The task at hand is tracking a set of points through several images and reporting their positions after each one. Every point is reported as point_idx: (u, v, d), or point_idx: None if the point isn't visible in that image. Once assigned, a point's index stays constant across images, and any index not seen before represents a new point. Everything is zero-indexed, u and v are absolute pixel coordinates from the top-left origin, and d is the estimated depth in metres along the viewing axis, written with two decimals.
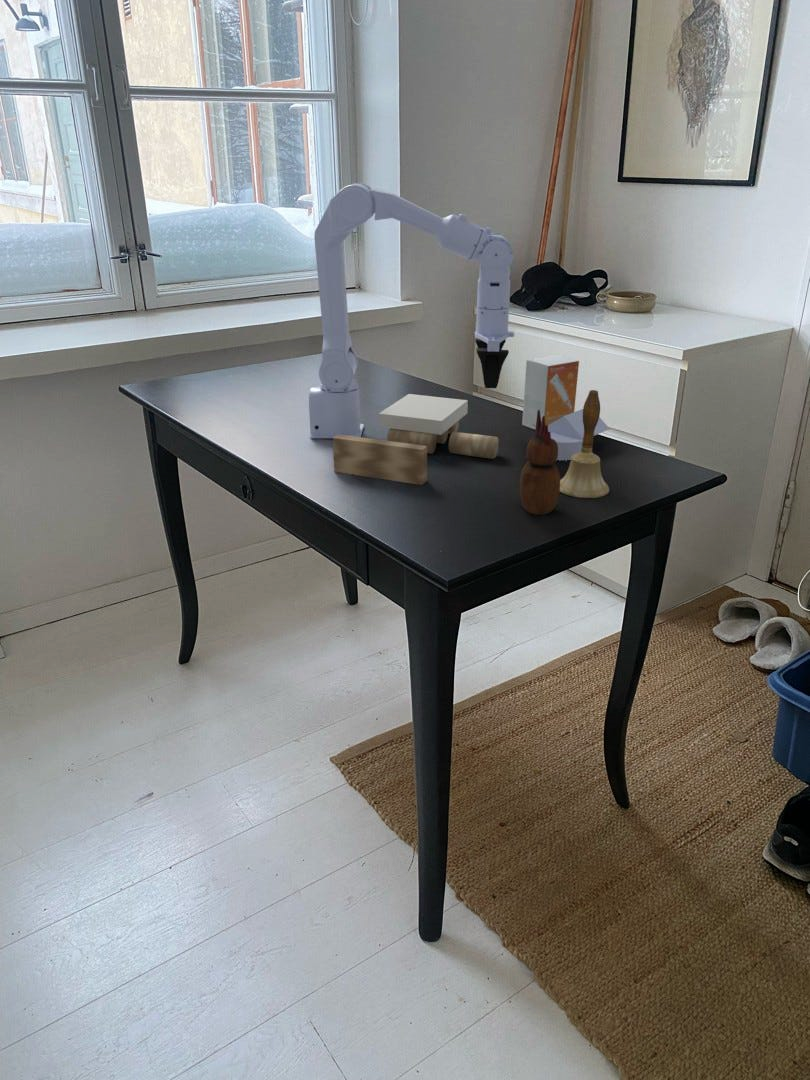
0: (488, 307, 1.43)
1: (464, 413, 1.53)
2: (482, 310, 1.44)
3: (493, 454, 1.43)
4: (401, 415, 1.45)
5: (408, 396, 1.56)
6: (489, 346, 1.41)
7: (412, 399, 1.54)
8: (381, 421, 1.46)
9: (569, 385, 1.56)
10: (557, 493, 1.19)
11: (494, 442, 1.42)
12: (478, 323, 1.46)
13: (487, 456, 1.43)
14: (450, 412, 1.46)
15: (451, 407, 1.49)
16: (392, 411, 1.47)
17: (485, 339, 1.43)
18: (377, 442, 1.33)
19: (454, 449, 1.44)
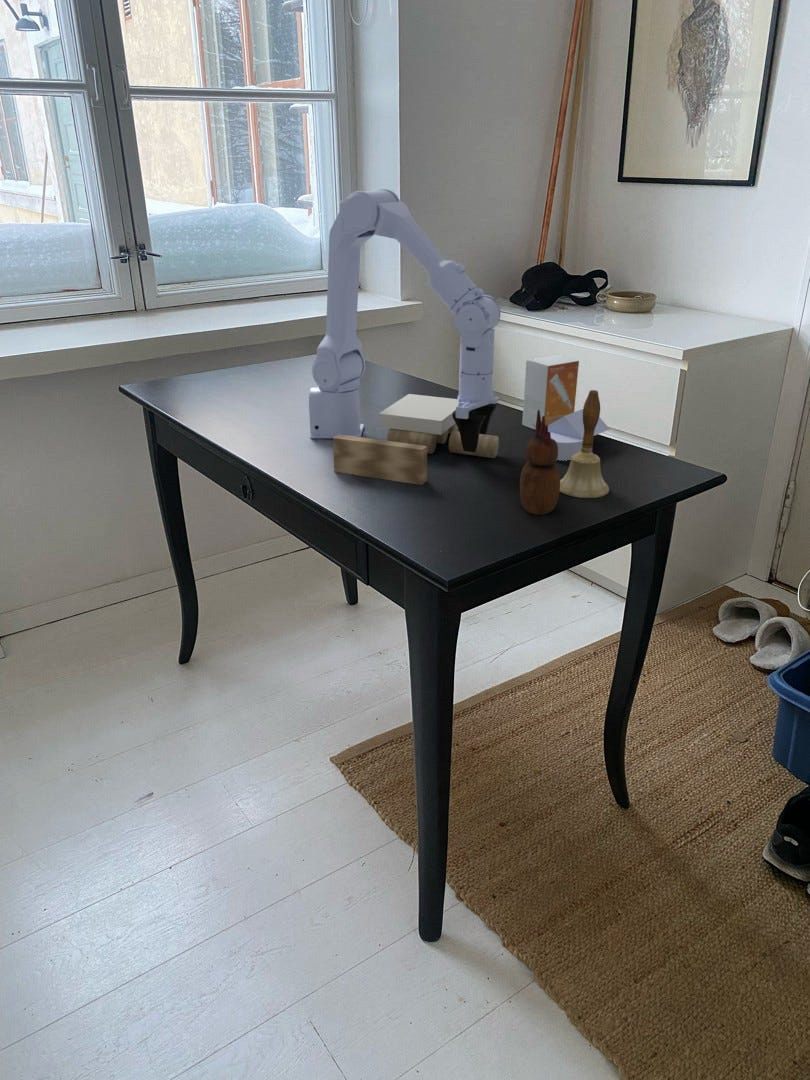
0: (464, 371, 1.37)
1: None
2: (461, 374, 1.38)
3: (493, 453, 1.42)
4: (401, 415, 1.45)
5: (408, 396, 1.56)
6: (457, 413, 1.35)
7: (412, 399, 1.54)
8: (381, 421, 1.46)
9: (569, 385, 1.56)
10: (557, 493, 1.19)
11: (494, 441, 1.42)
12: (459, 387, 1.40)
13: (487, 455, 1.43)
14: (450, 412, 1.46)
15: (451, 407, 1.49)
16: (392, 411, 1.47)
17: None
18: (377, 442, 1.33)
19: (454, 448, 1.44)
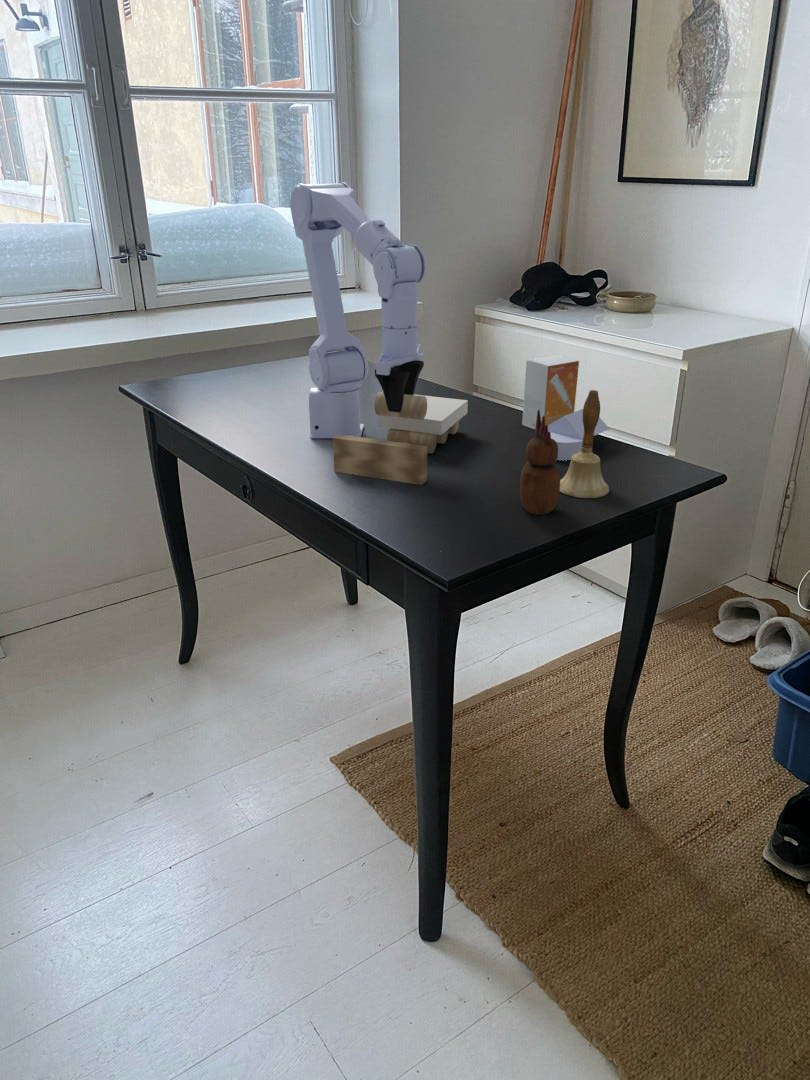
0: (382, 324, 1.31)
1: (464, 413, 1.53)
2: (383, 328, 1.30)
3: (420, 415, 1.35)
4: None
5: None
6: (377, 369, 1.28)
7: None
8: (381, 421, 1.46)
9: (569, 385, 1.56)
10: (557, 493, 1.19)
11: (421, 402, 1.35)
12: (382, 343, 1.33)
13: (414, 416, 1.35)
14: (450, 412, 1.46)
15: (451, 407, 1.49)
16: None
17: (379, 360, 1.30)
18: (377, 442, 1.33)
19: (380, 410, 1.37)
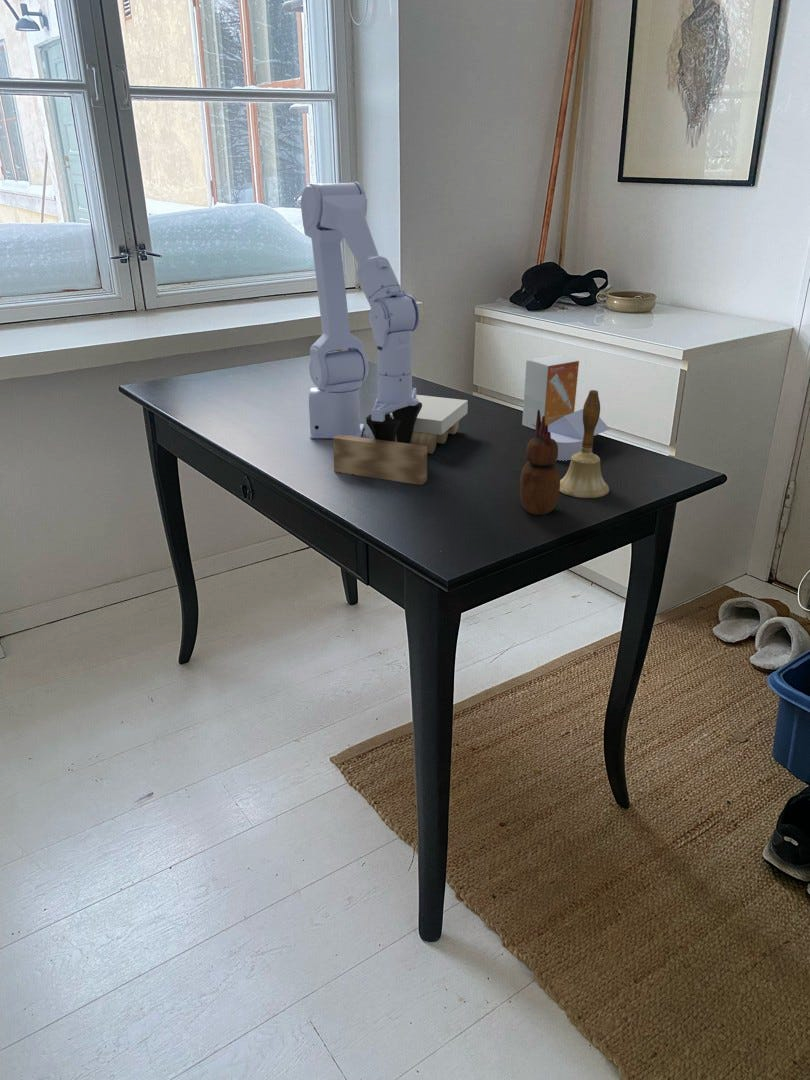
0: (377, 370, 1.34)
1: (464, 413, 1.53)
2: (378, 375, 1.33)
3: None
4: None
5: None
6: (372, 415, 1.31)
7: None
8: None
9: (569, 385, 1.56)
10: (557, 493, 1.19)
11: None
12: None
13: None
14: (450, 412, 1.46)
15: (451, 407, 1.49)
16: None
17: (374, 407, 1.33)
18: (377, 442, 1.33)
19: None
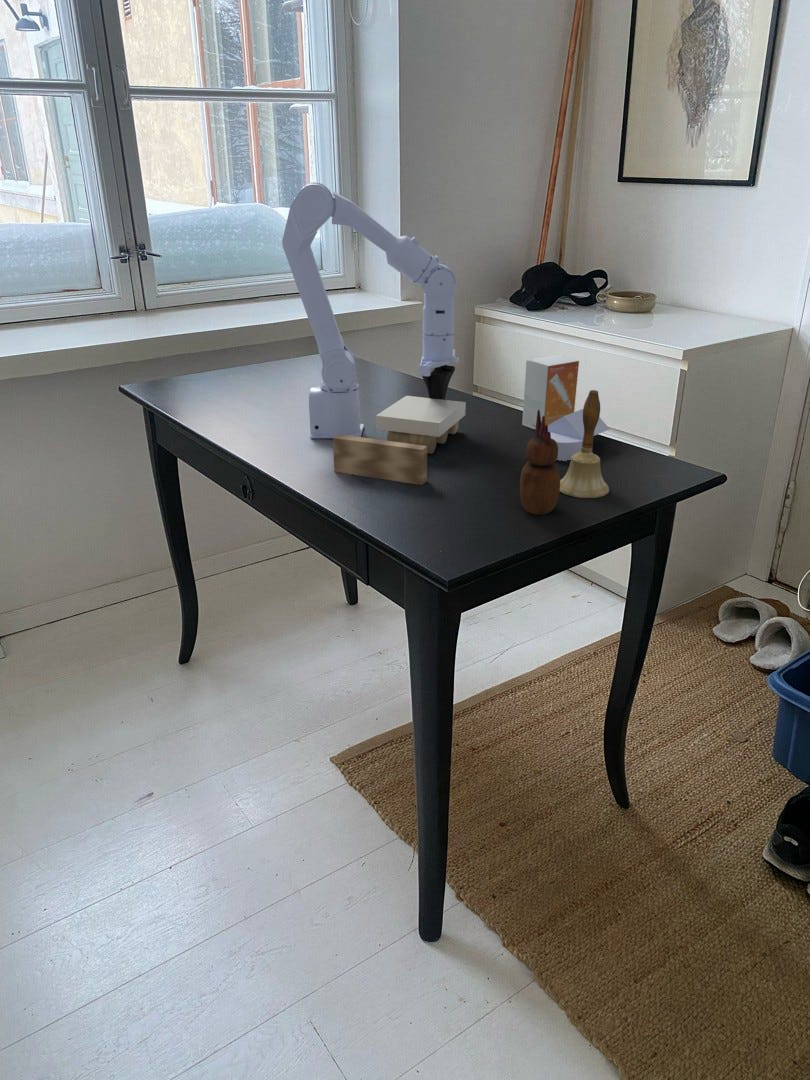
0: (434, 334, 1.48)
1: (462, 415, 1.52)
2: (424, 335, 1.49)
3: None
4: (398, 417, 1.44)
5: (405, 398, 1.55)
6: (420, 370, 1.47)
7: (409, 401, 1.53)
8: (378, 423, 1.45)
9: (569, 385, 1.56)
10: (557, 493, 1.19)
11: None
12: None
13: None
14: (448, 414, 1.45)
15: (448, 408, 1.48)
16: (389, 413, 1.46)
17: None
18: (377, 442, 1.33)
19: None
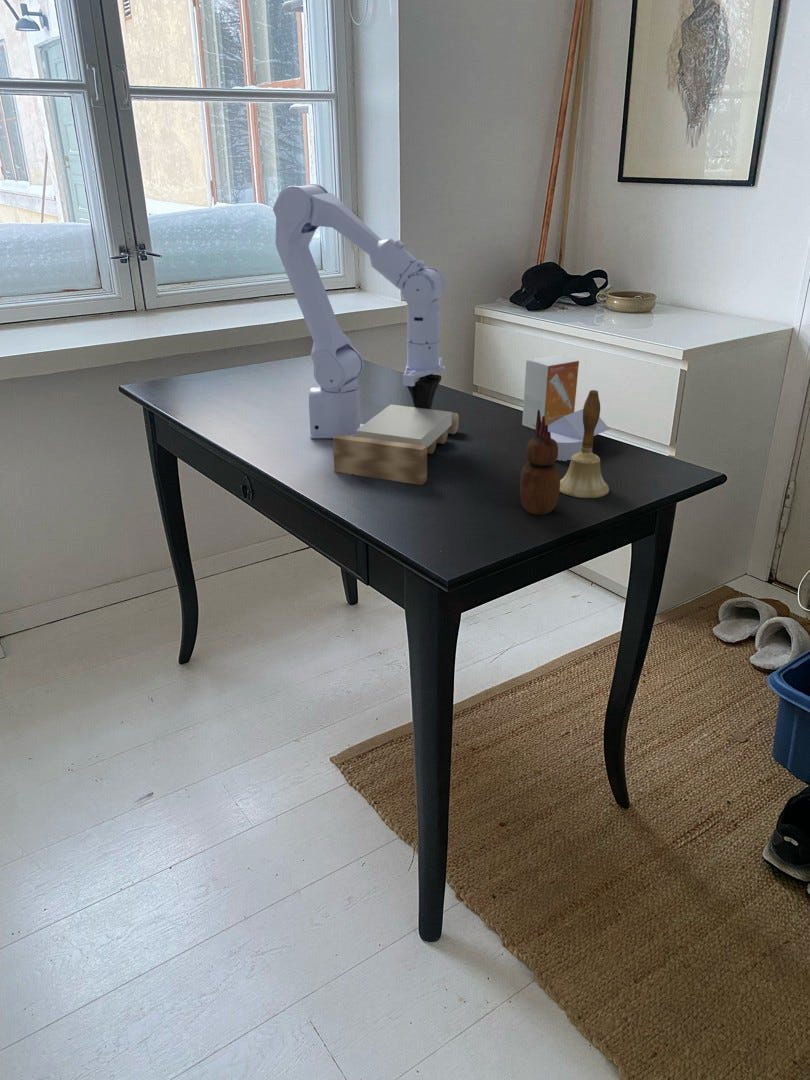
0: (413, 341, 1.42)
1: (448, 426, 1.45)
2: (408, 343, 1.43)
3: None
4: (379, 432, 1.38)
5: (389, 407, 1.49)
6: (403, 380, 1.40)
7: (393, 412, 1.47)
8: None
9: (569, 385, 1.56)
10: (557, 493, 1.19)
11: None
12: (407, 356, 1.45)
13: None
14: (431, 428, 1.39)
15: (433, 421, 1.42)
16: (370, 428, 1.40)
17: (405, 373, 1.42)
18: (377, 442, 1.33)
19: None
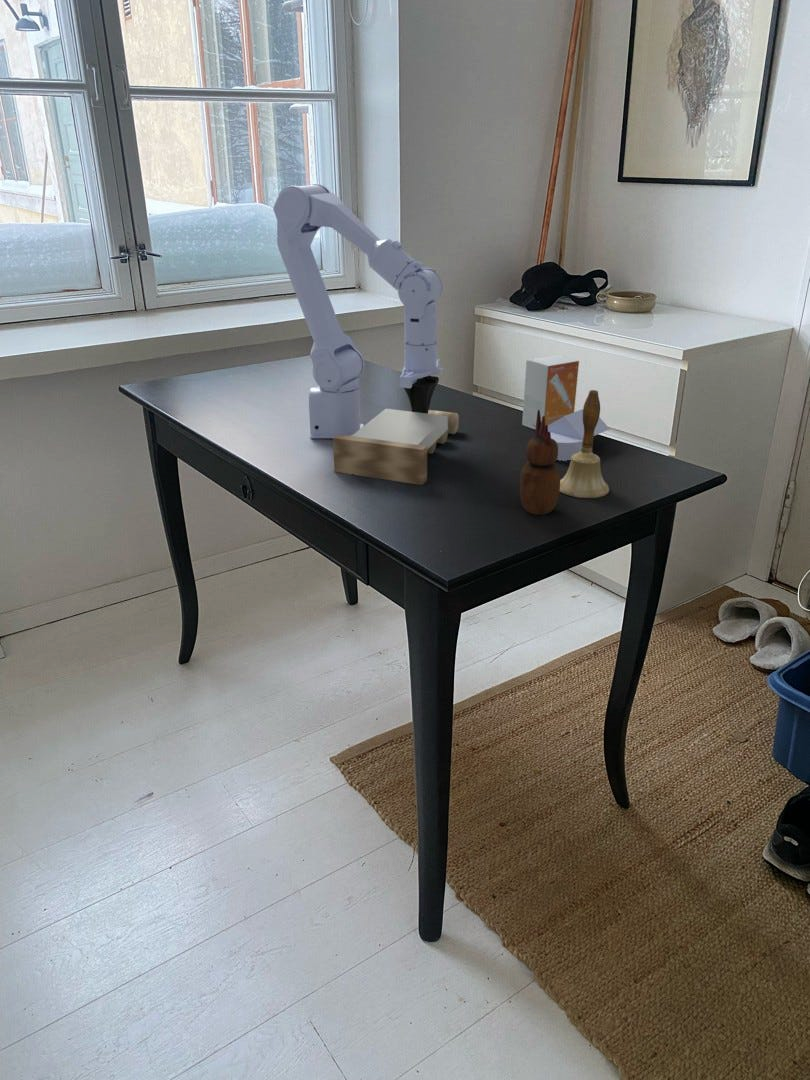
0: (409, 342, 1.41)
1: (444, 430, 1.44)
2: (405, 345, 1.42)
3: None
4: (374, 438, 1.36)
5: (385, 412, 1.47)
6: (400, 382, 1.39)
7: (388, 416, 1.45)
8: None
9: (569, 385, 1.56)
10: (557, 493, 1.19)
11: None
12: (404, 358, 1.44)
13: None
14: (427, 433, 1.37)
15: (429, 425, 1.40)
16: (365, 433, 1.38)
17: (402, 374, 1.41)
18: (377, 442, 1.33)
19: None
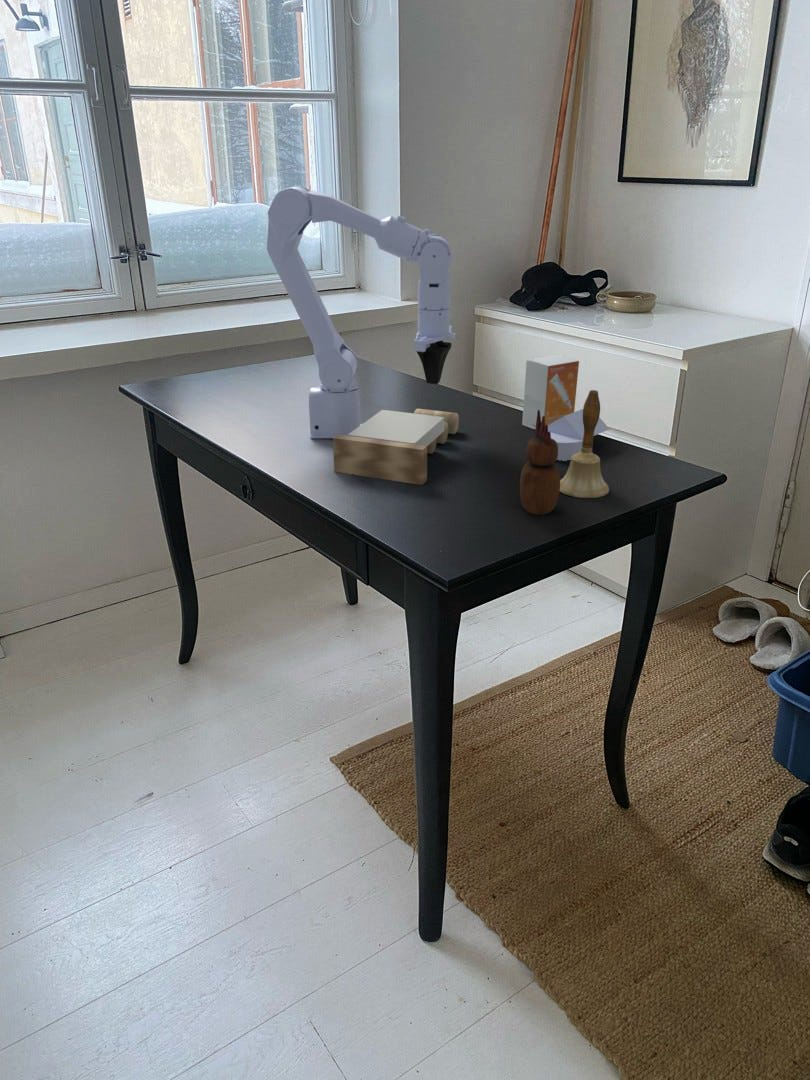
0: (428, 308, 1.43)
1: (440, 431, 1.43)
2: (419, 310, 1.45)
3: None
4: (371, 436, 1.36)
5: (381, 413, 1.46)
6: (414, 346, 1.43)
7: (385, 417, 1.44)
8: None
9: (569, 385, 1.56)
10: (557, 493, 1.19)
11: None
12: (418, 323, 1.47)
13: None
14: (424, 432, 1.37)
15: (426, 425, 1.40)
16: (362, 432, 1.37)
17: (415, 339, 1.44)
18: (377, 442, 1.33)
19: None
